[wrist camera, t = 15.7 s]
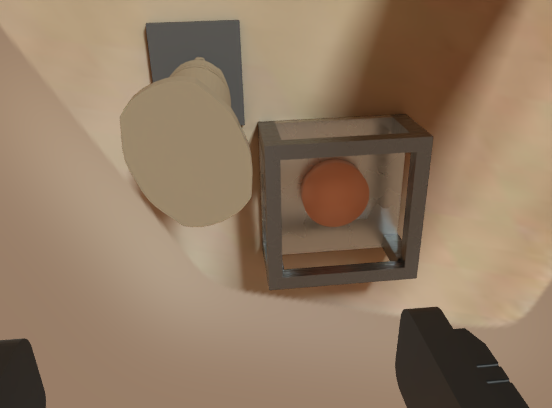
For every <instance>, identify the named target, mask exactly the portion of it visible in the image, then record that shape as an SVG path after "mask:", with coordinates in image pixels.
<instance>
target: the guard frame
mask: <svg viewBox="0 0 552 408" xmlns="http://www.w3.org/2000/svg"><path fill="white" fill-rule="evenodd" d="M258 134H259V160H260V185H261V211H262V237H263V255H264V261H265V267H266V273H267V280H268V286H269V290H278V289H291V288H303V287H315V286H327V285H340V284H352V283H364V282H376V281H389V280H401V279H413V278H417V270H418V262H419V253H420V245H421V236H422V228H423V220H424V211H425V203H426V195H427V186H428V178H429V170H430V161H431V153H432V144H433V136H432V135H431V134H430V133H428V132H427V131H426V130H425V129H424V128H422V127H421V126H420V125H419V124H417V123H416V122H415V121H414V120H412V119H411V118H410V117H409V116H408V115H406V114H399V115H380V116H361V117H342V118H323V119H304V120H285V121H266V122H258ZM409 152H411V158H410V168H409V178H408V188H407V198H406V208H405V218H404V228H403V238H402V239H401V238H400V236H399V235H398V223H399V212H400V202H401V191H402V181H403V170H404V160H405V153H409ZM332 159H339V160H344V161H347V162H350V163H351V164H353V165H354V166H356V167H357V168H358V169H359V171H360V172H361V174H362V175H363V177H364V178H365V180H366V182H367V184H368V187H369V200H368V204H367V206H366V208H365V210H364V211H363V212H362V214H361V215H360V216H359V217H358V218H357V219H355V220H354V221H352V222H351V223H349V224H346V225H343V226H339V227H327V226H323V225H320V224H318V223H316V222H315V221H313V220H312V219H311V218H310V217H309V215H308V214H307V212H306V210H305V208H304V205H303V202H302V199H301V193H300V191H301V184H302V181H303V179H304V177H305V175H306V174H307V173H308V172H309V170H310V169H312V168H313V167H314V166H315V165H317V164H319V163H321V162H323V161H326V160H332ZM378 247H382V248H383V250H384V251H385V253H386V255H387V256H388V258H389V260H390V261H389V262H376V263H364V264H351V265H338V266H325V267H312V268H300V269H287V270H284V266H283V262H282V255H285V254H298V253H312V252H325V251H338V250H351V249H365V248H378Z"/></svg>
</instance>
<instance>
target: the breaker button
mask: <svg viewBox="0 0 552 408" xmlns="http://www.w3.org/2000/svg"><path fill="white" fill-rule="evenodd" d="M300 193H301V199H302V202H303V205H304V208H305V210H306V212H307V214H308V215H309V217H310V218H311V219H312V220H313V221H315V222H316V223H318V224H320V225H323V226H327V227H339V226H343V225H346V224H349V223H351V222H352V221H354V220H355V219H357V218H358V217H359V216H360V215H361V214H362V212H363V211H364V210H365V208H366V206H367V204H368V200H369V187H368V184H367V182H366V180H365V178H364V177H363V175H362V174H361V172H360V171H359V169H358V168H357V167H356V166H354V165H353V164H351V163H350V162H347V161H344V160H339V159H332V160H326V161H323V162H321V163H319V164H317V165H315V166H314V167H313V168H312V169H310V170H309V172H308V173H307V174H306V175H305V177H304V179H303V181H302V184H301V191H300Z"/></svg>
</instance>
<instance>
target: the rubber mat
mask: <svg viewBox="0 0 552 408" xmlns="http://www.w3.org/2000/svg"><path fill="white" fill-rule="evenodd" d="M146 32H147V40H148V48H149V56H150V63H151V71H152V79H153V82H156V81H159V80H161V79H164V78H168V77H170V75H171V74H172V73H173V72H174V71H175V69H176V68H178V67H179V66H180V65H181V64H183V63H185V62H188V61H191V60H195V58H196V57H203V58H204V59H205V61H207V62H209V63H211V64H213V65H214V66H216V67H217V68H219V69H220V70H221V71H222V73H223V75H224V78H225V79H226V82H227V85H228V88H229V92H230V97H231V108H232V110H233V112H234V113H235V115H236V117H237V119H238V121H239V123H240V125H245V123H244V103H243V84H242V64H241V45H240V25H239V20H223V21H194V22H166V23H146Z"/></svg>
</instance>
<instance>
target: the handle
mask: <svg viewBox="0 0 552 408" xmlns="http://www.w3.org/2000/svg"><path fill="white" fill-rule="evenodd" d="M120 126H121V139H122V149H123V154H124V158H125V162H126V164H127V166H128V168H129V170H130V172H131V174H132V176H133V177H134V179H135V181H136V182H137V184H138V186H139V187H140V189H141V191H142V192H143V193H144V195H145V196H146V197H147V199H148V200H149V201H150V202H151V203H152V204H153V205H154V206H155V207H157V208H158V209H159V210H161V211H162V212H163V213H165V214H166V215H168V216H169V217H171V218H172V219H174V220H175V221H177V222H178V223H180V224H181V225H183V226H188V227H204V226H209V225H213V224H216V223H219V222H222V221H224V220H226V219H228V218H230V217H232V216H233V215H235V214H236V213H238V212H239V211H240V210H241V209H242V208H243V207H244V206H245V205H246V204H247V203H248V201H249V200H250V198H251V195H252V159H251V151H250V146H249V144H248V141H247V138H246V136H245V134H244V132H243V129H242V127H241V125H240V123H239V121H238V119H237V117H236V115H235V113H234V112H233V110H232V108H231V97H230V92H229V88H228V85H227V82H226V79H225V78H224V75H223V73H222V71H221V70H220V69H219V68H217V67H216V66H214V65H213V64H211V63H209V62H207V61H205V59H204V58H203V57H196V58H195V60H191V61H188V62H185V63H183V64H181V65H180V66H179V67H178V68H176V69H175V71H174V72H173V73H172V74H171V75H170V77H168V78H164V79H161V80H159V81H156V82H153V83H152V84H150V85H148V86H146V87H144V88H143V89H142V90H140V91H139V92H138V93H137V94H135V95H134V96H133V97H132V99H131V100H130V101H129V103H128V104H127V106H126V107H125V109H124V110H123V112H122V114H121V116H120Z"/></svg>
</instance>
